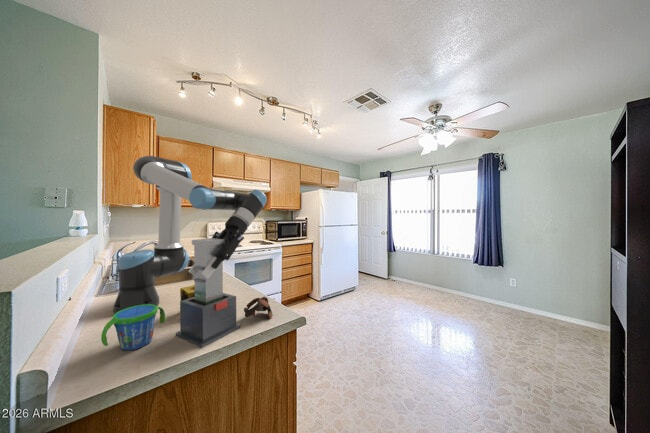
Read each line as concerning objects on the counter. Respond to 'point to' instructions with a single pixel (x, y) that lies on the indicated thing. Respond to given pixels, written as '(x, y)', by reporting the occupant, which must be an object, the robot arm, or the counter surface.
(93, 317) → the counter surface
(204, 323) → the sleeve
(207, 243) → the column
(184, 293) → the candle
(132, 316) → the snack cup
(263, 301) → the brown curved open arch
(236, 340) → the counter surface
